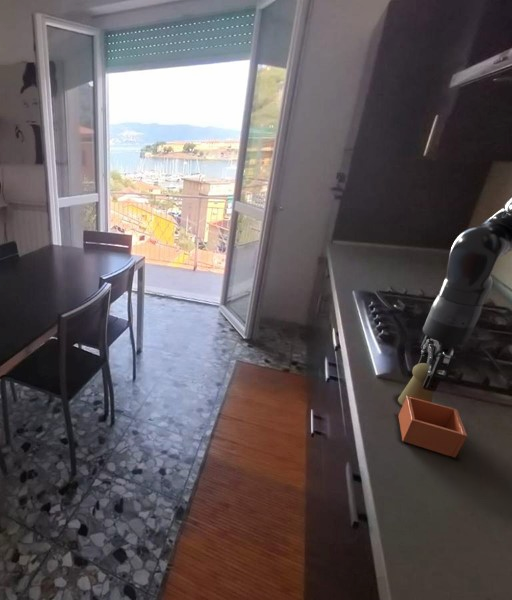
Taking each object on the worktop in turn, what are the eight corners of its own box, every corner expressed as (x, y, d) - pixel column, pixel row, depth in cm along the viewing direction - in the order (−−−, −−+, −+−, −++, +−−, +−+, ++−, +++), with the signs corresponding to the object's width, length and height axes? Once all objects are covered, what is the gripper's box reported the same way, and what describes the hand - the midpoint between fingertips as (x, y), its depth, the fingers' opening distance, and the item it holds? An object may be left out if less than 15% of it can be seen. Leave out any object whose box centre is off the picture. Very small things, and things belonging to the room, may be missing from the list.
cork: (391, 397, 88) (406, 360, 83) (413, 395, 89) (429, 358, 84) (412, 414, 83) (429, 376, 78) (436, 412, 83) (454, 374, 78)
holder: (398, 416, 82) (406, 395, 80) (446, 429, 78) (457, 409, 76) (402, 441, 76) (412, 420, 73) (455, 457, 72) (467, 436, 69)
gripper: (485, 337, 68) (453, 403, 75) (466, 308, 79) (440, 367, 86) (435, 328, 72) (408, 391, 79) (424, 301, 83) (401, 359, 90)
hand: (425, 379), depth 82 cm, fingers open, 8 cm apart
